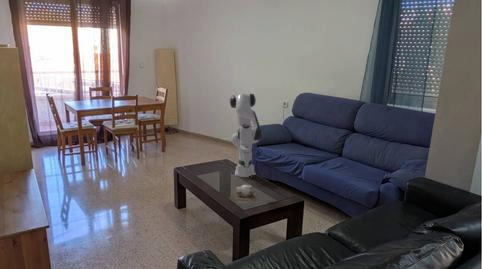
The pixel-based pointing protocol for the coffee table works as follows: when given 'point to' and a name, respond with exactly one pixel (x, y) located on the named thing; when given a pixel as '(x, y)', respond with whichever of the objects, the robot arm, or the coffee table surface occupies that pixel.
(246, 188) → the white capsule with handle
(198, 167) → the coffee table surface
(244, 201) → the cradle board
